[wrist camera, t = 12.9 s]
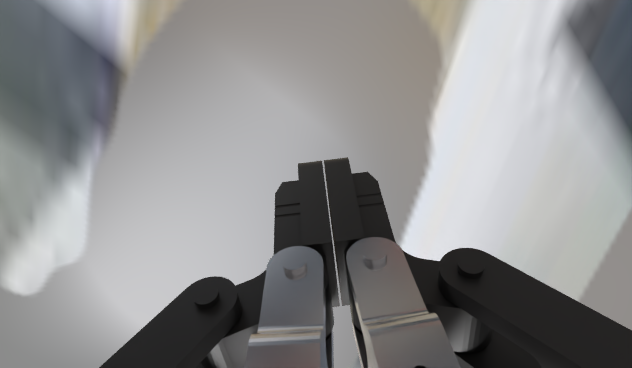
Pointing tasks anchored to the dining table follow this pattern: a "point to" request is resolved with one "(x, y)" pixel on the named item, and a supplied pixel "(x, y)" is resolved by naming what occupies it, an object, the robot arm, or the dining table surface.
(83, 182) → the dining table surface
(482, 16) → the dining table surface
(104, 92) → the dining table surface
